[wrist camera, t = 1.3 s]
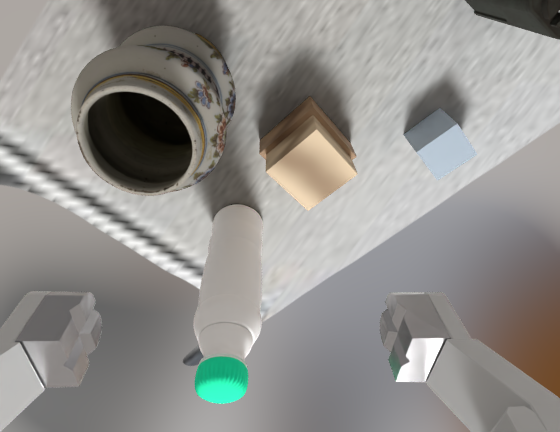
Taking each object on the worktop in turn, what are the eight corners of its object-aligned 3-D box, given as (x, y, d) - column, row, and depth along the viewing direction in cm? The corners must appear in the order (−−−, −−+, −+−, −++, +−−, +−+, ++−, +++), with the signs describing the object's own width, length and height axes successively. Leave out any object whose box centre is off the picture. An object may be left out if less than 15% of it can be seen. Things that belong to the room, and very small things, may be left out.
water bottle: (269, 234, 54) (271, 405, 33) (225, 246, 55) (200, 418, 34) (253, 196, 50) (243, 364, 29) (205, 209, 51) (164, 380, 30)
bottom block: (309, 95, 42) (313, 106, 39) (350, 142, 46) (356, 156, 42) (259, 139, 45) (259, 153, 42) (301, 179, 49) (304, 196, 45)
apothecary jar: (240, 22, 37) (223, 67, 23) (237, 133, 44) (223, 222, 30) (119, 10, 36) (19, 50, 22) (135, 125, 43) (69, 213, 29)
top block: (312, 114, 39) (316, 129, 36) (350, 157, 42) (357, 174, 39) (265, 155, 42) (265, 171, 39) (305, 192, 45) (308, 210, 42)
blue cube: (439, 107, 43) (457, 123, 39) (458, 136, 45) (477, 154, 41) (403, 134, 45) (416, 152, 41) (423, 160, 47) (437, 180, 43)
